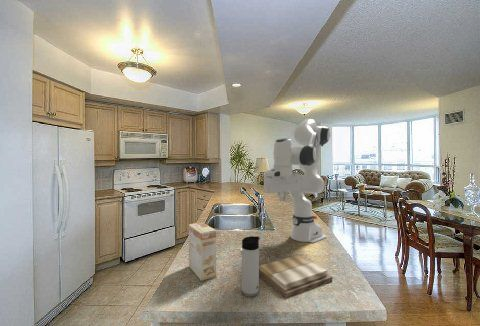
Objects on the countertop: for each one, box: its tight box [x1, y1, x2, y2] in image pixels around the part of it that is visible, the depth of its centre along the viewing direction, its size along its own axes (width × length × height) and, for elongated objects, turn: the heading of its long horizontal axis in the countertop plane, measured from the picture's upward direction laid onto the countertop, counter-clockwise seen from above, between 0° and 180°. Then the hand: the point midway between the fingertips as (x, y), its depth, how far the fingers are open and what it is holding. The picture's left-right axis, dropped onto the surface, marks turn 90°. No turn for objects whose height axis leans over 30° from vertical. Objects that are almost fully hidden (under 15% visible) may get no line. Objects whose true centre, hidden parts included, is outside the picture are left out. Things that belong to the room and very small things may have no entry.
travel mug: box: [241, 235, 261, 298], centre depth 83 cm, size 6×7×20 cm
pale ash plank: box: [272, 261, 328, 290], centre depth 90 cm, size 22×8×2 cm, turn 118°
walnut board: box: [259, 267, 334, 299], centre depth 94 cm, size 24×20×2 cm
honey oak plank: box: [259, 254, 313, 279], centre depth 98 cm, size 22×8×2 cm, turn 118°
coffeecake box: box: [188, 222, 217, 282], centre depth 98 cm, size 15×7×20 cm, turn 32°
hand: (282, 200), depth 109 cm, fingers closed
